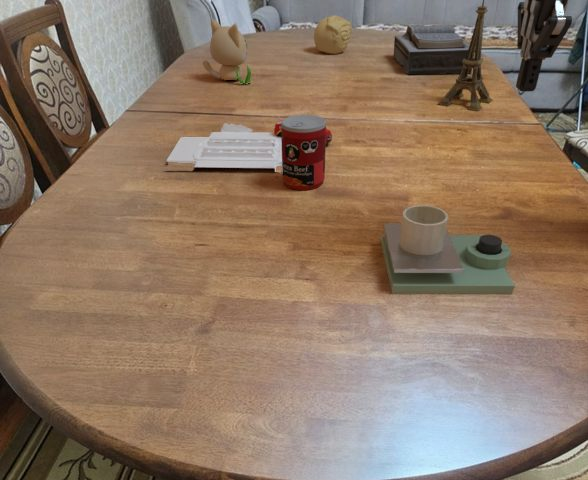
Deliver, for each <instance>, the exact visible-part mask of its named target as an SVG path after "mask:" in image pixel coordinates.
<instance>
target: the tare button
mask: <svg viewBox="0 0 588 480" xmlns="http://www.w3.org/2000/svg"><path fill="white" fill-rule="evenodd" d="M482 235H483V236H481V237H480V239H479V243H478V247H477V250H478V251H479V252H480V253H482V254H486V255H497V254H499V252H500V248H501V244H502V243H503V240H502V238H501V237H500V236H497V235H495V234H482Z"/></svg>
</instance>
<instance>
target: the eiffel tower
mask: <svg viewBox="0 0 588 480" xmlns="http://www.w3.org/2000/svg"><path fill="white" fill-rule="evenodd" d="M481 3H482V4H481V5H479V6H477V9H476V11H475V13H477V17H476V21H475V24H474V28H473V32H472V36H471V39H470V42H469V49H468V52H467V56H466V58H465V59H463V61H462V62H463V67H462V70H461V73H459V74H458V77H457V78H455V83H454V84H453V85H452V86H451V88H450V89H449V90H448V91H447V92H446V94H445V95H444V96H443V98H442V100H441V101H439V102H437V105H438V106H444V107H449V106H451V105H452V104H453V99H461V98H463V97H464V93H463V92H464V90H467V91H469V93H470V102H469V103H470V105H468V107H467V111H475V112H479V111H481V110H483V106H482V105H481V103H484V104H490V103H492V102H493V98H491V97H490V92H489V91H488V89H487V87H486V85H485V83H484V82H483V80H484V78H485V77H483V76H482V64H483V62H484V57H482V48H483V33H484V22H485V14H486V13H488V12H489V11H488V10H489V9H487V8H488V6H484V5H485V0H482V2H481ZM474 50H475V52H474ZM473 54H474V58H473ZM470 68H472V72H471V75H469V74H470V73H469V69H470Z"/></svg>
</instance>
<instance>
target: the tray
mask: <svg viewBox="0 0 588 480" xmlns="http://www.w3.org/2000/svg"><path fill="white" fill-rule="evenodd" d="M167 162H178V163H193V164H195V166H194V168H195V169H196V168H223V169H224V168H226V169H227V168H229V169H231V168H232V169H233V168H234V169H237V168H238V169H273V170H274V173H275V172H276V167H277V166H282V142H281V137H277V136H276V135H275V134H274V132H265V131H264V132H263V131H262V132H256V131H255V132H253V129H252V127H248V126H246V125H244V124H239V123H238V124H235V123H233V122H231V123H228V122H224V123H223V125H222V126H220V130H218V131H211V132H210V135H209V137H185V136H181V137H180V138H179V140H178V141H177V143H176V144H175V146H174V148H172V151H171V153H170V154H169V156H168V157H167V159H166V163H167Z"/></svg>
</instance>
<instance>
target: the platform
mask: <svg viewBox="0 0 588 480" xmlns="http://www.w3.org/2000/svg"><path fill="white" fill-rule="evenodd" d="M382 226H383V232H384V235H385V236H386V241H387V245H388V249H389V254H390V258H391V263H392V267H393V271H394V273H463V270H464V269H463V267H462V264H461V262H460V260H459V257H458V255H457V252H456V250H455V248H454V245H453V243H452V240H451V238H450V236H449V235H450V233H449V231H448V228H447V229H446V235H445V240H444V244H443V248H442V250H441V251H440V252H438V253H436V254H433V255H415V254H411V253H409V252H406V251H405V250H403V249H402V248H401V247H400V245H399V236H400V229H401V222H384V223H383V225H382Z"/></svg>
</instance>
